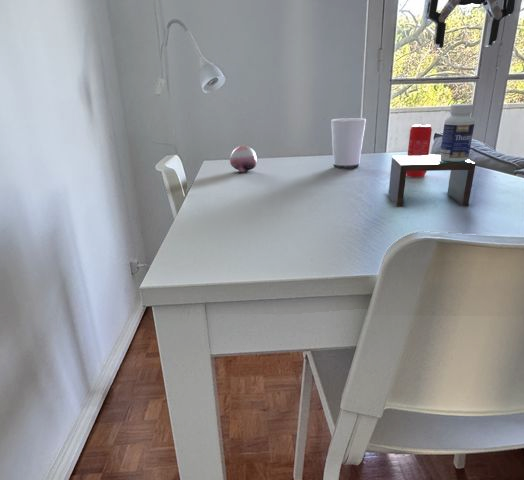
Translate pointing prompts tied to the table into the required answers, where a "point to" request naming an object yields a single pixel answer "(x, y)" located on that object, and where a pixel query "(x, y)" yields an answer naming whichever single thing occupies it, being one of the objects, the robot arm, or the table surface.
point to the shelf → (458, 177)
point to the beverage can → (419, 145)
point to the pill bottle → (457, 134)
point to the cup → (347, 141)
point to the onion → (243, 158)
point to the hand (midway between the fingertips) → (463, 47)
